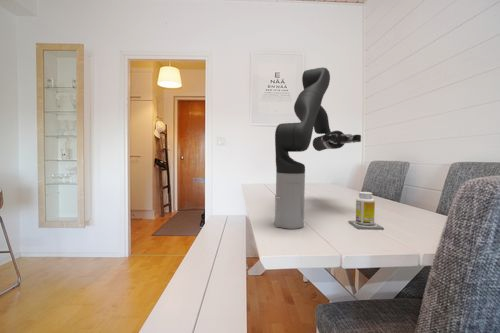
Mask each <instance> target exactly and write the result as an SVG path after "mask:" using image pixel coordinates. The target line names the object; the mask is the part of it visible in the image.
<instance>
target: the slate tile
mask: <svg viewBox="0 0 500 333" xmlns="http://www.w3.org/2000/svg"><path fill="white" fill-rule="evenodd" d="M347 221H348V223H349V224H351V226H353V227H354V228H356V229H357V230H382V231H384V227H383V226H382V225H380V224H378V223H377V222H374V224H372V225H362V224H359V223H357V222H356V220H347Z"/></svg>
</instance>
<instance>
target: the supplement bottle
mask: <svg viewBox="0 0 500 333" xmlns="http://www.w3.org/2000/svg"><path fill="white" fill-rule="evenodd" d="M355 202H356V203H355V221H356V222H357V223H359V224H362V225H372V224H374V223H375V208H376V206H375V205H376V204H375V202H376V200H375V199H374V198H373V192H369V191H359V192H358V197H356V199H355Z"/></svg>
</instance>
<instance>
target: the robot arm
mask: <svg viewBox="0 0 500 333" xmlns="http://www.w3.org/2000/svg"><path fill="white" fill-rule="evenodd" d="M301 78H302V79H301V81H302V82H301V83H302V87H303V90H302V91H301V92H300V93H299V94H298V96H297V98H296V100H295V102H294V106H293V109H294V110H293V111H294V114H295V115H296V117H297V119H298V120H299V121H300V122H285V123H279V124H278V125H277V126H276V128H275V131H274V133H275V134H274V146H275V170H276V172H275V174H276V176H275V177H276V178H275V181H276V182H275V196H274V197H275V198H274V199H275V200H274V224H275V227H276V228H282V229H290V230H291V229H292V230H293V229H294V230H296V229H301V228H303V227H304V226H305V191H306V188H305V186H306V184H305V183H306V181H305V179H306V166H305V164H304V163H302V162H300V161H297V160H296V159H293V158H292V157H290V155H289V153H290V152H291V153H292V152H293V153H294V152H296V153H298V152H299V153H300V152H306V151H307V150H308V149H309V147H310V144H311V141H312V147H313V148H314V150H315V151H318V152H321V151H324V150H337V149H341V148H342V147H344V146H345V145H346V144H352V143H353V144H354V143H360V142H362V135H361V134H350V133H349V134H347V133H343V132H342V131H340V130H333V131H331V128H330V122H329V121H330V120H329V115H328V113H327V111H326V109H325V108H324V107H323V106H322V102H323V99H324V96H325V94H326V92H327V90H328V88H329V86H330V82H331V81H330V80H331V75H330V70H329V69H328V68H326V67H317V68H311V69H307V70H304V72H303V74H302V77H301ZM313 131H314V133H316V134H317V135H320V136H316V137H314V139H313V140H312V136H313Z"/></svg>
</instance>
